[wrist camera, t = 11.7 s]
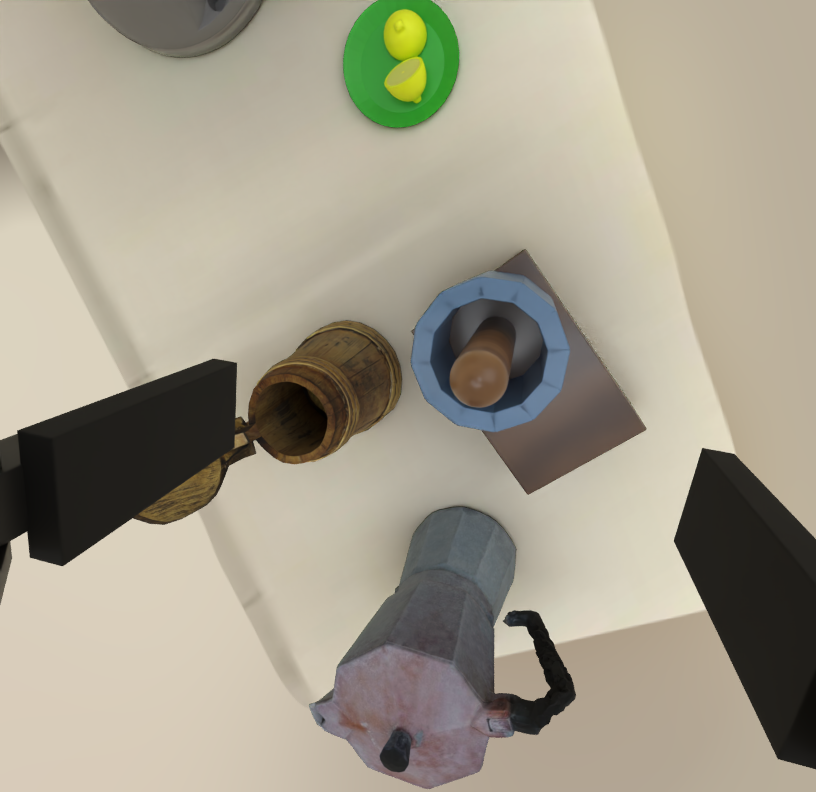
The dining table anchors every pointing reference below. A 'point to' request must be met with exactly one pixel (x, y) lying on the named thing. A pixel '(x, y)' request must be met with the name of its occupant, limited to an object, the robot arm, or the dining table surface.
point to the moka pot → (440, 660)
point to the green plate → (401, 61)
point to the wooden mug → (302, 409)
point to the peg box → (511, 357)
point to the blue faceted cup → (522, 392)
